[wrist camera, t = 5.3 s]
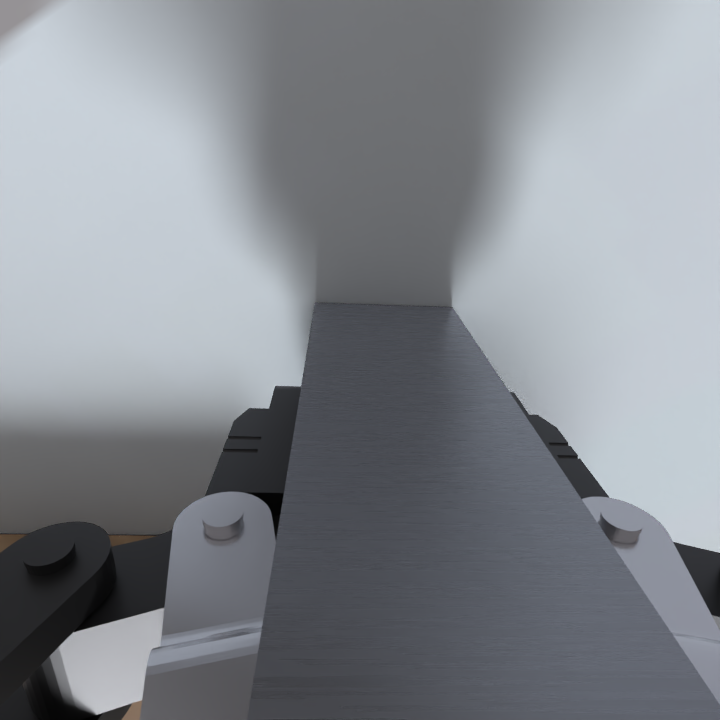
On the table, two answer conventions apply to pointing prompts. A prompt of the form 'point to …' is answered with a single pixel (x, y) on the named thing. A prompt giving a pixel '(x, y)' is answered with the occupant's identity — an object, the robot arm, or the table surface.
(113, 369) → the table surface
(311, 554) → the square bit
